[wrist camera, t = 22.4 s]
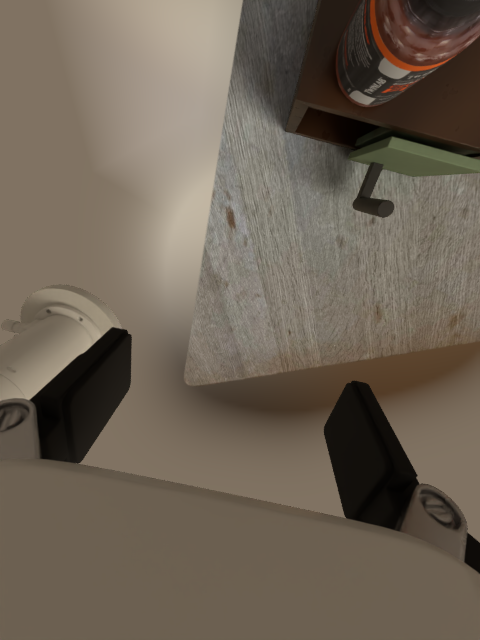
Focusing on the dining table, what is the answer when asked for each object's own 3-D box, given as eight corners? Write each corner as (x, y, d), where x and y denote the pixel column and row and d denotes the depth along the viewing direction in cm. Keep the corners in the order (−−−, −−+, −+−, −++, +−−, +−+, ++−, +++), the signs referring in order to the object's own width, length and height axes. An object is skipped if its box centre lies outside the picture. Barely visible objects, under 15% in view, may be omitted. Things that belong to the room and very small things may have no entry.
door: (331, 203, 36) (360, 211, 25) (350, 152, 33) (391, 135, 22) (392, 219, 36) (448, 234, 25) (416, 169, 33) (490, 162, 22)
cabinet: (284, 131, 33) (295, 99, 20) (319, -6, 27) (363, -164, 15) (421, 167, 33) (512, 157, 21) (482, 40, 28) (657, -77, 15)
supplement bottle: (362, 129, 21) (449, 77, 11) (317, 58, 19) (370, -77, 9) (436, 57, 19) (632, -90, 9) (393, -29, 17) (571, -334, 7)
